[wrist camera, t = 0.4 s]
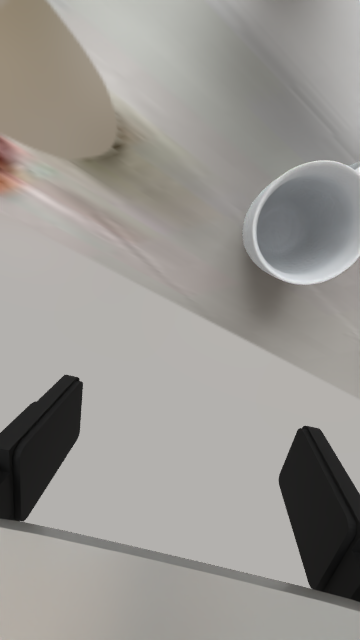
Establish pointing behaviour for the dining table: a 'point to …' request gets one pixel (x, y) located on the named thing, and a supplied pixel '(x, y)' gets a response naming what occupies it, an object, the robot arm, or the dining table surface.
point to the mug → (306, 223)
